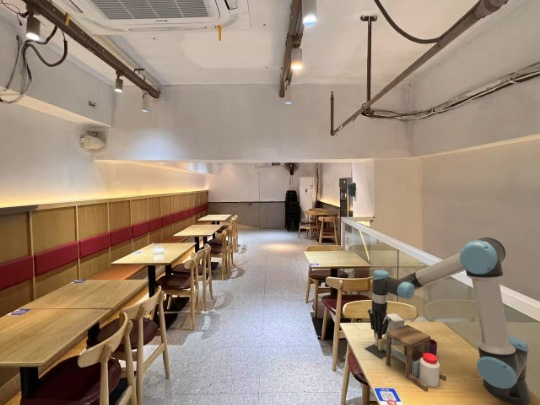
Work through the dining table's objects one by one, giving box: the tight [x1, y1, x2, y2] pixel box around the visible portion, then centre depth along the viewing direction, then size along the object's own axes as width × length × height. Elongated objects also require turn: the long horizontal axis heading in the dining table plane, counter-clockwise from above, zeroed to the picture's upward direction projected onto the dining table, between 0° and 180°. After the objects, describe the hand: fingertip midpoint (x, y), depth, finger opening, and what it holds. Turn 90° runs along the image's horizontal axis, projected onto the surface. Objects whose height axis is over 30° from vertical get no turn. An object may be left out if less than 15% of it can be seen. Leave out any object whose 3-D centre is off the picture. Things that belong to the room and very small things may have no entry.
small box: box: [384, 313, 406, 345], centre depth 160 cm, size 8×6×13 cm
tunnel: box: [385, 324, 447, 392], centre depth 134 cm, size 20×14×16 cm
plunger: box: [378, 336, 420, 378], centre depth 142 cm, size 22×9×6 cm, turn 30°
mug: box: [430, 338, 438, 357], centre depth 148 cm, size 7×10×7 cm
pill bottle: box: [418, 353, 441, 388], centre depth 129 cm, size 8×8×11 cm
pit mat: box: [364, 343, 386, 360], centre depth 151 cm, size 10×12×1 cm
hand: (377, 344), depth 153 cm, fingers closed
